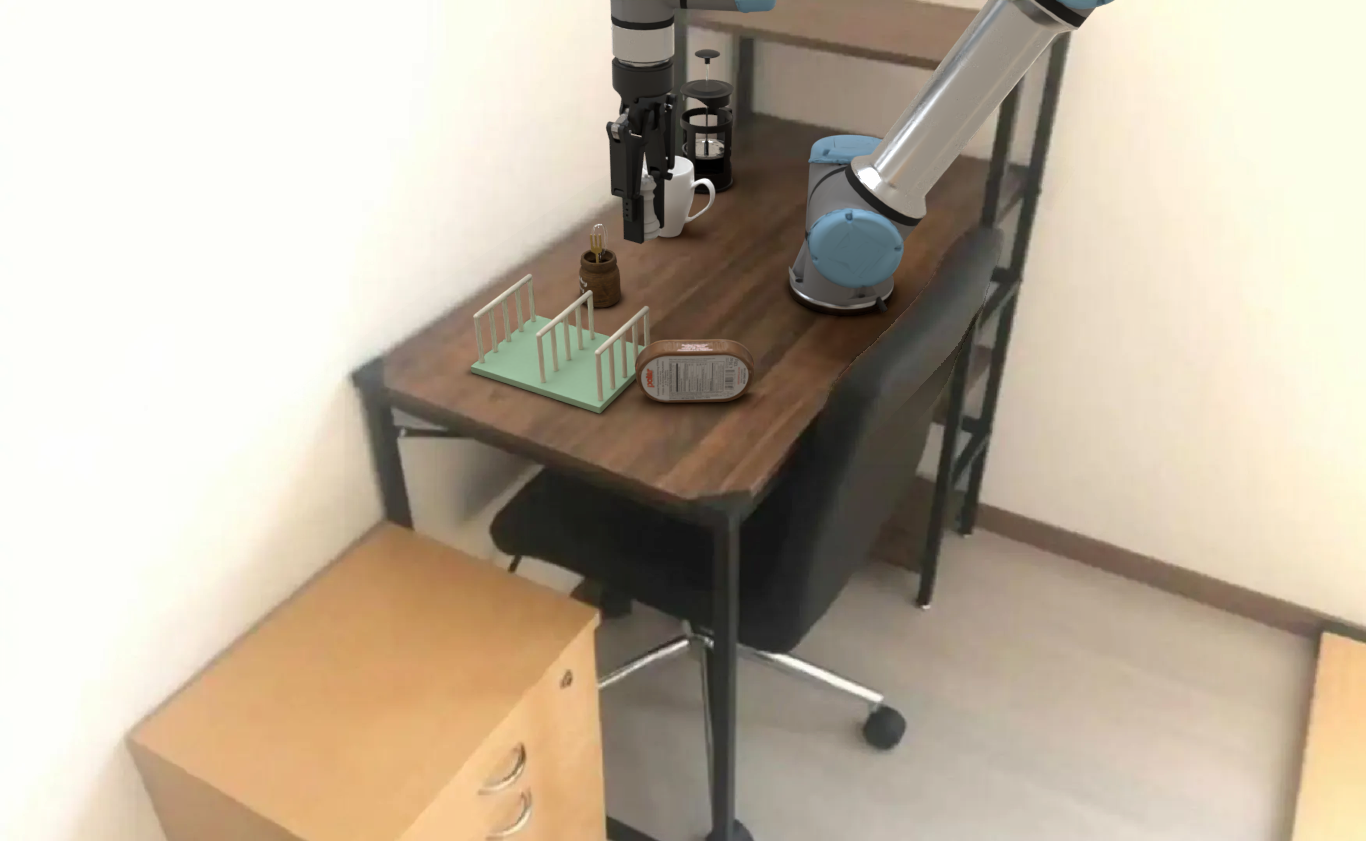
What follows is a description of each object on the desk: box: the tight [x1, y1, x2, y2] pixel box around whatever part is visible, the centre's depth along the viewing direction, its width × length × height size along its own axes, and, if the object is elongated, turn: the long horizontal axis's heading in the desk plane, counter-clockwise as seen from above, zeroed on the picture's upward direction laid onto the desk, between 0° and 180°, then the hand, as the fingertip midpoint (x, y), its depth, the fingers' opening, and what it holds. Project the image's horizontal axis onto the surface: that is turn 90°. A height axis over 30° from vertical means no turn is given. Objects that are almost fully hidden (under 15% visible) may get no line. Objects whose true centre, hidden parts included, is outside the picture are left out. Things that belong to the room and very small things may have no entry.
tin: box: [635, 338, 755, 404], centre depth 141 cm, size 15×3×8 cm, turn 92°
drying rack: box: [470, 273, 651, 415], centre depth 148 cm, size 20×15×8 cm
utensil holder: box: [578, 223, 621, 309], centre depth 161 cm, size 6×6×12 cm
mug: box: [642, 155, 716, 238], centre depth 178 cm, size 12×8×11 cm
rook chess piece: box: [640, 174, 660, 242], centre depth 146 cm, size 4×4×8 cm
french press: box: [679, 48, 735, 195], centre depth 191 cm, size 12×9×23 cm
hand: (644, 232), depth 148 cm, fingers closed on rook chess piece, 4 cm apart
